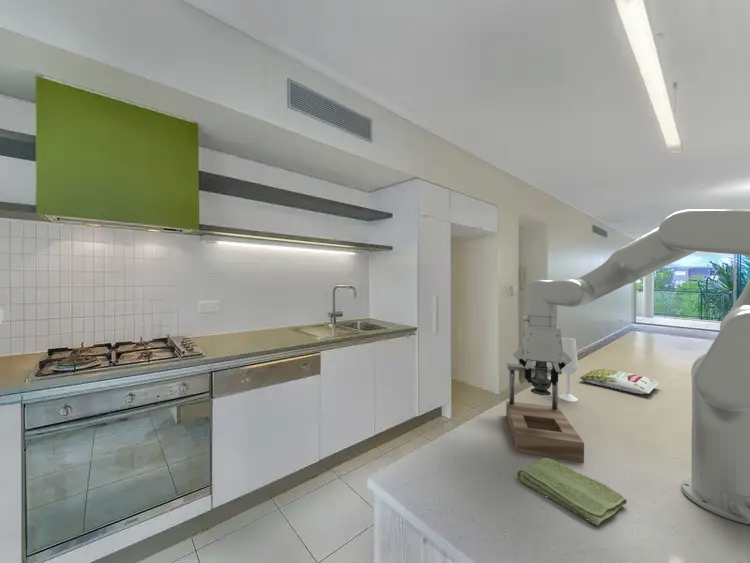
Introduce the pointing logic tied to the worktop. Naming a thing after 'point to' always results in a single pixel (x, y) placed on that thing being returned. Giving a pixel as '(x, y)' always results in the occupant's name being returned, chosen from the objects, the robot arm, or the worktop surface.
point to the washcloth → (572, 490)
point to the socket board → (543, 432)
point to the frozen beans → (621, 381)
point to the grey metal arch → (521, 368)
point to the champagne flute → (569, 365)
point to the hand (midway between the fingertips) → (540, 382)
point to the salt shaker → (541, 379)
